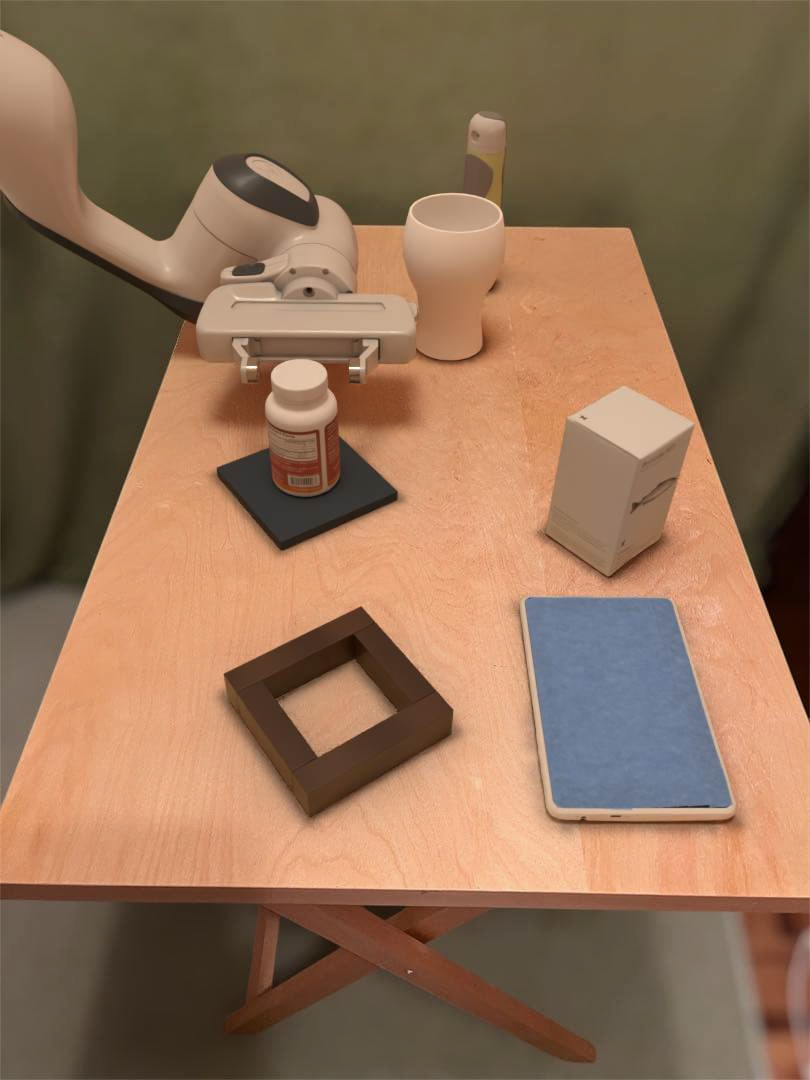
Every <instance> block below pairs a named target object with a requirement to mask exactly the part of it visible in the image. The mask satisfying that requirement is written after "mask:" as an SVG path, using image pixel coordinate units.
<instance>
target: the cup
mask: <svg viewBox="0 0 810 1080" xmlns="http://www.w3.org/2000/svg"><path fill="white" fill-rule="evenodd" d="M505 227H506V226H505V219H504V214H503V211H502V208H501V209H500V208H499V207H498V206H497V205H496V204H495V203H493V202H491V201H489V200H487V199H485V198H482V197H478V196H475V195H469V194H463V193H462V192H461V193H457V192H446V193H445V192H444V193H436V194H430V195H428V196H424V197H422V198H418V199H417V200H416V201H414V202H413V203H412V205H411V206H410V207H409V210H408V213H407V217H406V221H405V225H404V227H403V228H404V229H403V234H402V258H403V261H404V264H405V269H406V273H407V276H408V278H409V281H410V282H411V284H412V286H413V288H414V290H415V292H416V297H417V308H418V319H417V321H416V350H417V351H419V352H420V353H421V354H423V355H424V356H426V357H429V358H432V359H437V360H441V361H459V360H465V359H469V358H470V357H473V356H475V355H476V354H477V353H479V352H480V351H481V350H482V348H483V325H482V317H481V315H482V310H483V306H484V302H485V297H486V296H487V294H488V293H489V291H490V290H491V289H492V288H493V287H492V285H493V284H494V282H495V283H496V281H497V278H498V275H499V274H500V271H501V269H502V265H503V264H504V261H505V253H506V246H507V245H506V243H507V235H506V234H507V233H506V228H505ZM495 280H496V281H495ZM494 285H495V284H494ZM491 287H492V288H491Z"/></svg>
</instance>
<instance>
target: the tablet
mask: <svg viewBox="0 0 810 1080" xmlns="http://www.w3.org/2000/svg"><path fill="white" fill-rule="evenodd" d="M518 610H519V616H520V623H521V630H522V637H523V644H524V645H523V646H524V652H525V653H524V654H525V659H526V666H527V674H528V682H529V689H530V690H529V691H530V696H531V703H532V712H533V718H534V725H535V726H534V727H535V739H536V744H537V754H538V761H539V762H540V776H541V781H542V786H543V794H544V795H543V796H544V802H545V808H546V810H547V812H548V813H549V815H550V816H551V817H553V818H555V819H557V820H563V821H580V820H582V819H584V820H585V821H588V822H590V821H591V822H595V821H596V822H697V821H698V822H700V821H701V822H702V821H726V820H729V819H731V818H732V817H734V815H735V814H736V811H737V801H736V798H735V795H734V791H733V788H732V784H731V782H730V781H731V780H730V779H729V775H728V772H727V769H726V765H725V761H724V759H723V755H722V752H721V748H720V745H719V742H718V739H717V736H716V732H715V729H714V726H713V723H712V722H713V721H712V720H711V715H710V712H709V709H708V705H707V703H706V699H705V696H704V693H703V689H702V686H701V683H700V680H699V677H698V673H697V669H696V666H695V663H694V660H693V656H692V652H691V649H690V647H689V643H688V641H687V636H686V634H685V631H684V627H683V624H682V621H681V618H680V613H679V611H678V607H677V604H676V603H675V601H674V600H673V599H671V598H670V597H667V596H663V595H662V596H660V595H659V596H657V595H655V596H648V595H647V596H646V595H642V596H641V595H637V596H635V595H527V596H525V597H523V598H522V599H521V600H520V601H519V605H518Z"/></svg>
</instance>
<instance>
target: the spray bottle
mask: <svg viewBox="0 0 810 1080" xmlns="http://www.w3.org/2000/svg"><path fill="white" fill-rule="evenodd" d="M507 136H508V135H507V122H506V120H505V118H504V117H503V116H502V115H501V114H500V113H497V112H495V111H491V110H482V111H481V110H480V111H478V113H476V114H475V115H473V116H472V118H471V120H470V121H469V124H468V136H467V137H468V138H467V145H466V147H467V148H466V149H467V150H466V154H465V159H464V173H463V183H462V184H463V185H462V194H469V195H475V196H478V197H482V198H485V199H487V200H489V201H491V202H493V203H495V204H496V205H497V206H498V207H499V208H500V209H501V210H502V203H503V193H504V181H505V168H506V154H507V146H506V144H507V143H506V142H507V138H508V137H507ZM496 281H497V279H496V280H495V282H494V284H493V285H492V287H491V288H490V289H492V288H493V287H494V286H495V284H496Z"/></svg>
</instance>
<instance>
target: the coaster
mask: <svg viewBox="0 0 810 1080" xmlns="http://www.w3.org/2000/svg"><path fill="white" fill-rule="evenodd" d="M339 451H340V476H339V479H338V481H337V482H336V484H335V485H334V486H333V487H332V488H331V489H329V490H328V491H326V492H324V493H322V494H319V495H316V496H310V497H300V496H294V495H291V494H288V493H286V492H284V491H282V490H281V489H280V488H278V487H277V485H276V484H275V482H274V480H273V477H272V470H271V460H270V451H269V447H267V448H264V449H261V450H259V451H256V452H253V453H250V454H248V455H245V456H243V457H241V458H238V459H235V460H233V461H232V460H231V461H230V462H227V463H225V464H222V465H220V466H217V467H216V475H217V477H218V478H219V479H220V481H222V483H223V484H224V485H225V486H226V488H228V490H229V491H230V492H231V493H232V494H233V495H234V497H235V498H236V499H237V500H238V501H239V502H240V504H242V506H243V507H244V508H245V509H246V511H247V513H249V514H250V515H251V517H252V518H253V519H254V520H255V521H256V522H257V524H259V525H260V527H261V528H262V529H263V530H264V531H265V533H266V534H267V535H268V536H269V538H271V540H272V541H273V542H274V544H276V545H277V547H278V548H279V549H280V550H281V551H285V550H286V549H287V548H290V547H292V546H295V545H297V544H299V543H302V542H304V541H306V540H308V539H311V538H313V537H316V536H317V535H320V534H323V533H325V532H327V531H329V530H331V529H333V528H336V527H338V526H341V525H342V524H345V523H347V522H349V521H353V520H354V519H356V518H359V517H361V516H363V515H365V514H367V513H370V512H372V511H374V510H376V509H379V508H381V507H384V506H386V505H388V504H391V503H393V502H395V501H397V500H398V498H399V497H398V495H399V493H398V490H397V489H396V488H395V487H394V486H392V484H391V483H389V481H388V480H387V479H386V478H384V477H383V476H382V475H381V474H380V473H379V472H378V471H377V470H376V469H375V468H374V467H373V466H372V465H370V464H369V463H368V462H367V461H366V459H364V458H363V457H362V456H361V455H360V454H359V453H358V452H357V450H355V449H354V448H353V447H352V446H351V445H350V444H348V442H347V441H345V439H343V438H342V436H340V435H339Z"/></svg>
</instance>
